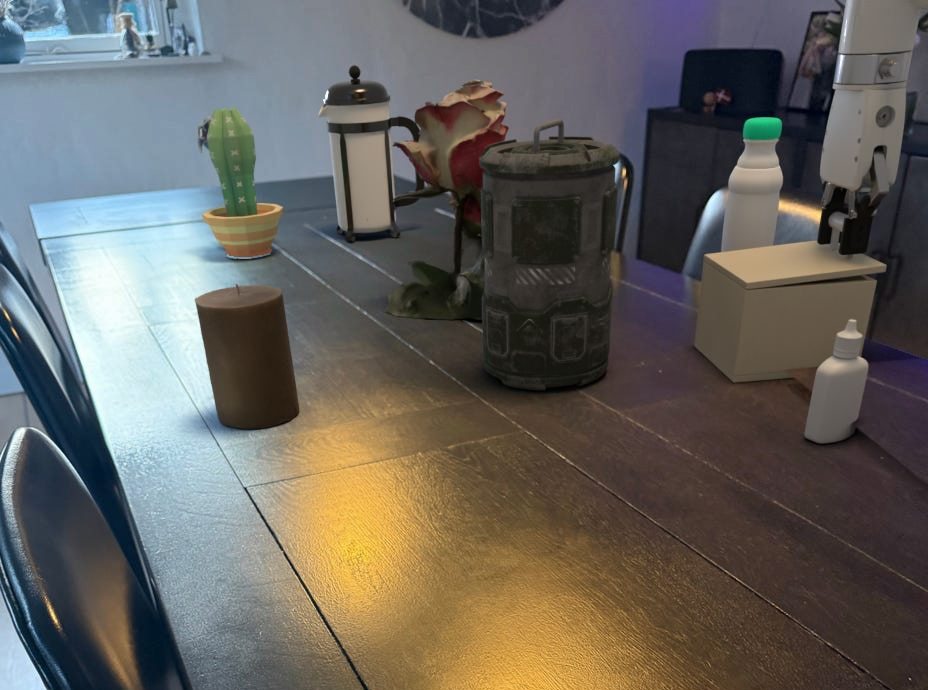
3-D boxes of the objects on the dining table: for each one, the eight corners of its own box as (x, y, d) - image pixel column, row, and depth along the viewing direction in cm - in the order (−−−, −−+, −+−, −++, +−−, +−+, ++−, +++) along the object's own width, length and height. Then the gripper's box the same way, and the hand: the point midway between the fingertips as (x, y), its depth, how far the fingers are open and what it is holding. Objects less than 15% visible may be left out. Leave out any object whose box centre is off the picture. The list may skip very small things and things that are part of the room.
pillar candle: (301, 425, 107) (282, 290, 98) (215, 433, 106) (188, 298, 97) (298, 396, 115) (280, 269, 106) (218, 404, 113) (194, 276, 105)
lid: (829, 245, 118) (834, 202, 115) (885, 272, 106) (893, 225, 103) (703, 260, 118) (706, 218, 115) (746, 289, 106) (750, 243, 103)
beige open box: (806, 337, 125) (821, 252, 119) (857, 372, 113) (877, 280, 107) (694, 346, 124) (703, 261, 118) (733, 382, 112) (745, 290, 106)
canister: (512, 346, 127) (511, 113, 111) (624, 358, 121) (640, 113, 105) (463, 384, 115) (453, 130, 99) (584, 399, 109) (595, 131, 93)
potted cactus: (261, 242, 191) (240, 102, 176) (304, 252, 181) (286, 105, 167) (194, 256, 182) (167, 111, 168) (236, 267, 173) (211, 114, 159)
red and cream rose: (560, 327, 133) (566, 85, 116) (374, 317, 142) (354, 90, 125) (596, 282, 153) (605, 70, 136) (430, 276, 162) (419, 75, 145)
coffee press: (380, 246, 183) (366, 68, 166) (317, 239, 190) (298, 68, 173) (429, 229, 194) (420, 61, 177) (368, 223, 202) (354, 61, 185)
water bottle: (773, 314, 134) (804, 117, 120) (740, 324, 131) (767, 123, 117) (735, 304, 139) (760, 114, 125) (702, 313, 136) (724, 119, 122)
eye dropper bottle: (795, 429, 99) (816, 315, 93) (848, 427, 99) (873, 313, 92) (808, 445, 96) (830, 328, 89) (863, 443, 96) (890, 325, 89)
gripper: (947, 74, 94) (907, 261, 105) (867, 65, 108) (839, 232, 119) (876, 79, 94) (842, 267, 104) (805, 70, 108) (782, 236, 118)
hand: (841, 246), depth 111 cm, fingers closed on lid, 5 cm apart
